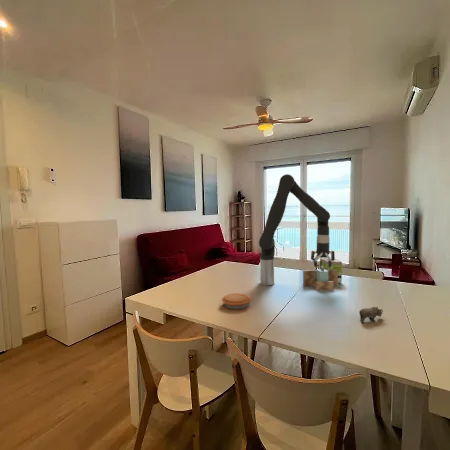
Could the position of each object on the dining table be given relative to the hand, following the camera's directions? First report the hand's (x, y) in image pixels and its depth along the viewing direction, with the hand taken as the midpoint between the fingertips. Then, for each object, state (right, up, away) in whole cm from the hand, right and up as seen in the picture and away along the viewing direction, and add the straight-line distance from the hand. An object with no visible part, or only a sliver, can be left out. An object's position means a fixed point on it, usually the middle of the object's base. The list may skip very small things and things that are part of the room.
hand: (322, 266), depth 161 cm
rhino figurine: (+4, -16, -47) cm, 50 cm away
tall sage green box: (0, -10, +1) cm, 10 cm away
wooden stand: (0, -13, +1) cm, 13 cm away
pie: (-56, -17, -26) cm, 64 cm away
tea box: (+12, -12, +16) cm, 24 cm away
